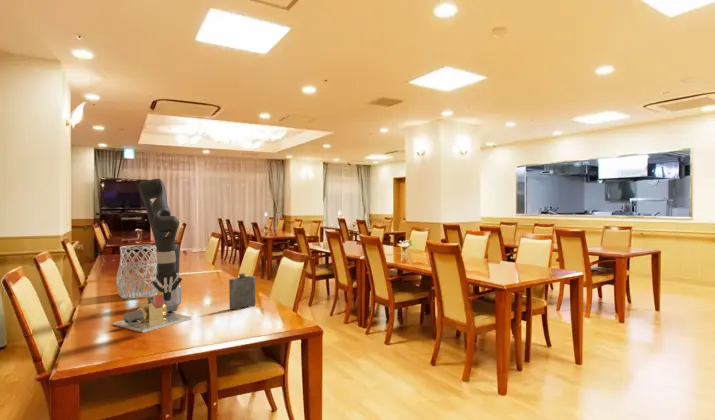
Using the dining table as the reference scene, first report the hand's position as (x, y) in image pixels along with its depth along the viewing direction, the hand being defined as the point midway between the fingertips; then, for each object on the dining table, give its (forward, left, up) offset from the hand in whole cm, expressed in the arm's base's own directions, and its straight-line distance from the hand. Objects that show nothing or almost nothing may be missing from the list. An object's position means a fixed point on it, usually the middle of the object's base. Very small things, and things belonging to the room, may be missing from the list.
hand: (167, 300), depth 184 cm
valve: (-3, -17, -12) cm, 21 cm away
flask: (-44, -1, -13) cm, 46 cm away
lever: (0, -9, -3) cm, 9 cm away
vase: (-34, -79, -13) cm, 87 cm away
